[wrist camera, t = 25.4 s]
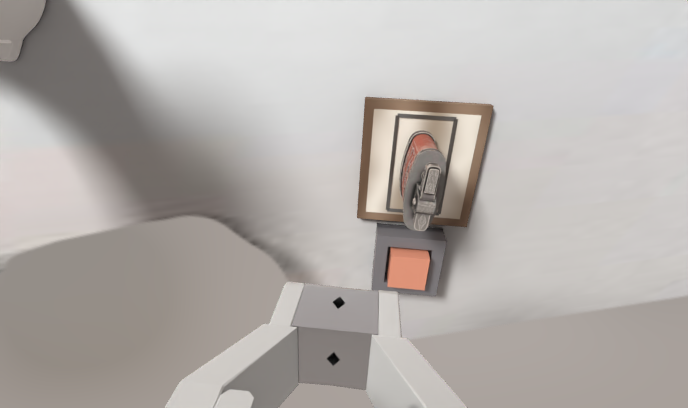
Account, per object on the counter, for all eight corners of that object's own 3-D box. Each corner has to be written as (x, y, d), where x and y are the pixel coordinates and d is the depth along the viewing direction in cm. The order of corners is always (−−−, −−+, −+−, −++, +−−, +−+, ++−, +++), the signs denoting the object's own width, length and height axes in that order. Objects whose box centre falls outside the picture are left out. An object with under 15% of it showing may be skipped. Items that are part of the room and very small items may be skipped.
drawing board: (357, 214, 43) (356, 218, 42) (365, 96, 37) (365, 98, 36) (464, 223, 42) (467, 227, 41) (490, 104, 36) (494, 106, 35)
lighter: (423, 201, 40) (436, 247, 31) (394, 197, 41) (398, 241, 32) (439, 132, 37) (459, 162, 28) (407, 128, 37) (417, 156, 28)
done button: (387, 271, 45) (387, 286, 42) (390, 242, 43) (391, 256, 40) (421, 275, 44) (424, 290, 42) (426, 245, 43) (430, 259, 40)
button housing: (372, 275, 47) (371, 290, 44) (377, 223, 43) (377, 235, 41) (432, 281, 46) (435, 296, 44) (442, 228, 43) (446, 241, 40)
